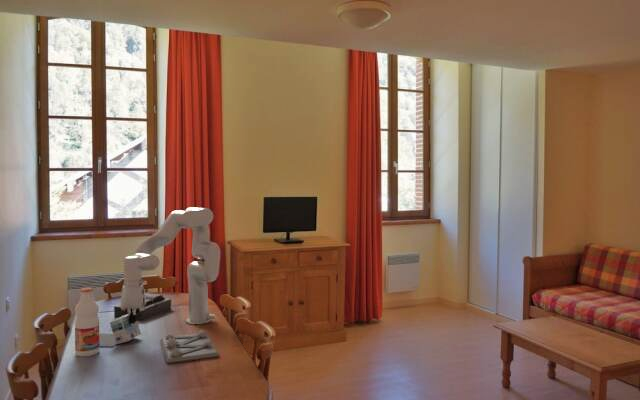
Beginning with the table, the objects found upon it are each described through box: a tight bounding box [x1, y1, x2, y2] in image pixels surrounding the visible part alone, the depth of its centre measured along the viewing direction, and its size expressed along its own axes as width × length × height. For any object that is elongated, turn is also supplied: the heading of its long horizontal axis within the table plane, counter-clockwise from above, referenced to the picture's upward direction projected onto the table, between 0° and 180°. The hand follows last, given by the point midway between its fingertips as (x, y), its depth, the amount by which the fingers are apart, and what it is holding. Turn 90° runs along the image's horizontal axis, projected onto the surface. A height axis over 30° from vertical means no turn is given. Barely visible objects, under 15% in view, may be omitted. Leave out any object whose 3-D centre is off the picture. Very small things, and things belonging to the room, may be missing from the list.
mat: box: [99, 333, 118, 348], centre depth 223 cm, size 14×16×1 cm
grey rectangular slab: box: [159, 329, 220, 365], centre depth 213 cm, size 30×22×7 cm
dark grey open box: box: [113, 292, 172, 322], centre depth 267 cm, size 23×27×10 cm
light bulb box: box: [109, 314, 142, 345], centre depth 222 cm, size 11×7×11 cm, turn 169°
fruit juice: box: [74, 286, 100, 358], centre depth 207 cm, size 9×9×28 cm
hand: (133, 322), depth 221 cm, fingers closed
